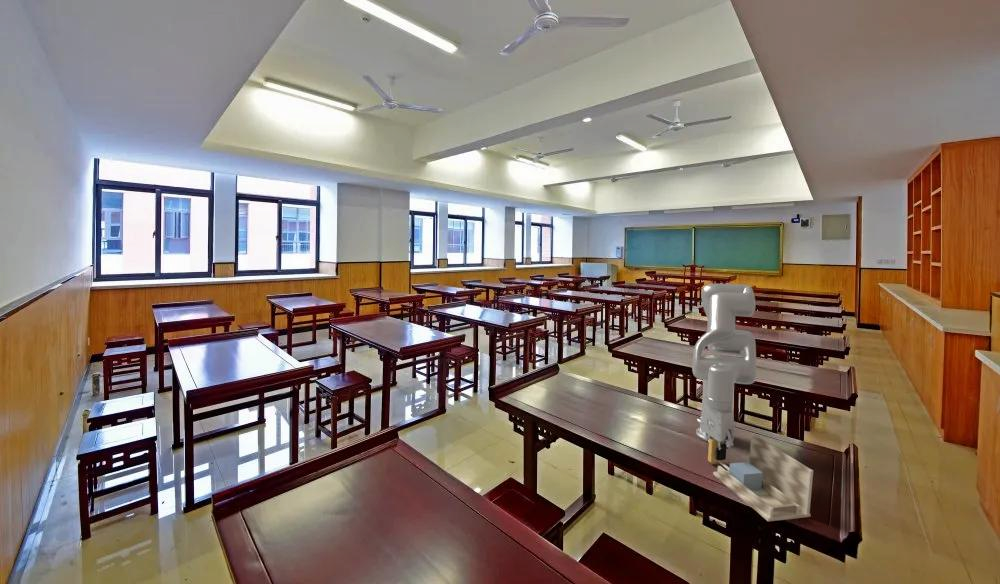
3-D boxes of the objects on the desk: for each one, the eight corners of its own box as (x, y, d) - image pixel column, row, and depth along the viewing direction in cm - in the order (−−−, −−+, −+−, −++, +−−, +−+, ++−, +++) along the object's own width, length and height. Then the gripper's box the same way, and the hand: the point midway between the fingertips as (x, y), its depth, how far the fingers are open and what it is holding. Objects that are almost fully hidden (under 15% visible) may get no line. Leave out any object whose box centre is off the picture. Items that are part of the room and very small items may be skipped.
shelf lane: (713, 474, 129) (715, 435, 127) (748, 470, 130) (751, 432, 129) (768, 521, 107) (771, 475, 105) (810, 516, 109) (814, 471, 107)
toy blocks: (706, 460, 135) (707, 438, 134) (722, 458, 136) (724, 437, 135) (743, 490, 119) (744, 466, 118) (761, 488, 119) (763, 464, 118)
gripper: (693, 394, 140) (690, 445, 142) (726, 414, 124) (722, 471, 126) (713, 393, 141) (710, 443, 143) (748, 413, 125) (744, 469, 127)
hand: (716, 455), depth 134 cm, fingers open, 3 cm apart
